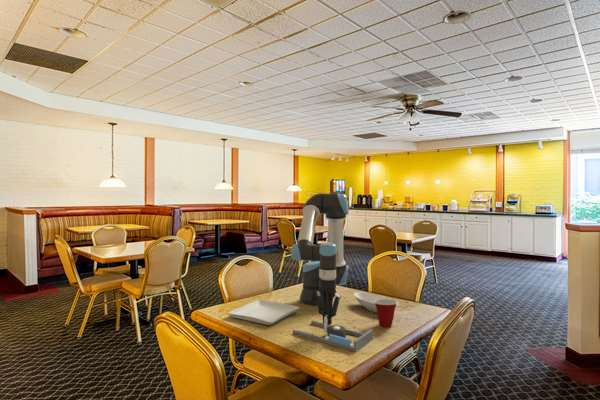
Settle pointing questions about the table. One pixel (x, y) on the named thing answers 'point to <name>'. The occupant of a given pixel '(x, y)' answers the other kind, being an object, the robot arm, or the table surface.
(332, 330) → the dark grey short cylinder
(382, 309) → the plastic cup
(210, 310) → the table surface
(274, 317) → the square plate
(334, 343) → the gray u-shaped frame
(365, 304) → the bowl
